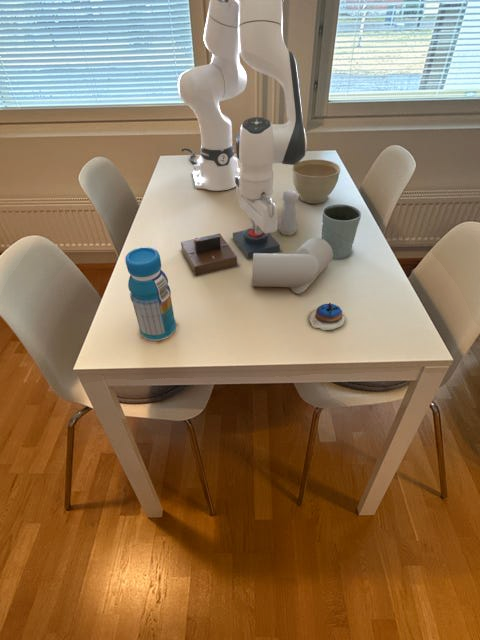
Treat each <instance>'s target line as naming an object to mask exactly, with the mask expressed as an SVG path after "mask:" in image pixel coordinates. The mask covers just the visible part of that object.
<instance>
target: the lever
mask: <svg viewBox="0 0 480 640" xmlns="http://www.w3.org/2000/svg"><path fill="white" fill-rule="evenodd" d="M218 234H219V233H214V234H210V235H206V237H205V236H201V237H195V238H193V239H194V245H195V251H196V252H197V253H199V252H204V251H208V250H213V249H217V248H221V245H220V236H219V235H218Z"/></svg>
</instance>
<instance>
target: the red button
mask: <svg viewBox="0 0 480 640" xmlns="http://www.w3.org/2000/svg"><path fill="white" fill-rule="evenodd" d="M262 235H263V232H262V231H261V234H260V235H256V234H255V233H254V232H253V231H252V230H251V231H250V232H249V236H251V237H261V236H262Z"/></svg>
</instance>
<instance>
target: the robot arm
mask: <svg viewBox="0 0 480 640" xmlns="http://www.w3.org/2000/svg"><path fill="white" fill-rule="evenodd" d="M284 1H285V0H209V1H208V8H207V13H206V14H207V15H206V19H205V20H206V21H205V26H204V32H203V42H204V44H205V47H206V49H207V51H208V52H209V53H211V55H212V56H211V61H210V63H208V64H203V65H198V66H194V67H191V68H190V69H187V70H185V71H184V72H182V73H181V74H180V75H179V77H178V80H177V81H178V82H177V91H178V94H179V97H180V99H181V100H182V102H183V103H184V104H185V105H186V106H187V107H189V109H191V110H192V111H193V113H194V115H195V116H196V119H197V122H198V125H199V133H200V141H201V142H200V143H201V145H200V156H199V157H198V158H197V160H196V161H194V160H193V158H194V157H195V152H194V151H193V150H192V149H190V148H188V147H183V148H182V149H181V152H184V151H187V152H189V153H190V154H191V155H190V156H189V161H190V163H192V164H193V171H192V178H193V182H194V187H195V188H196V189H203V190H208V191H213V192H215V191H216V192H220V191H227V190H231V189H233V188H235V187H236V199H237V203H238V206H239V207H240V208H241V209H242V210H243V212H244V213H245V214H247V216H248V217H249V222H250V224H251V228H252V231H253V232H254V233H255V234H256V235H260V234H261V230H262V231H263V232H264V233H265V234H268V233H270V234H273V233H276V232H277V230H278V209H277V206H276V204H275V203H274V201H273V199H272V198H271V196H272V195H273V193H274V169H273V164H282V165H290V166H293V165H295V164H296V163H298V162H300V161H302V159H303V158H305V156H306V152H307V149H308V148H307V147H308V140H307V139H308V138H307V134H306V129H305V126H304V120H303V108H302V100H301V99H302V98H301V90H300V80H299V76H298V74H299V73H298V67H297V60H296V57H295V55H294V53H293V52H292V51H290V50H289V49H288V48H287V45H286V43H285V40H284V31H283V29H284V28H283V27H284V18H283V17H284V14H283V13H284V12H283V11H284V9H283V2H284ZM240 57H241V58H242V60H243V62H244V63H245V64H246V65H247V66H249V68H251V69H252V70H254V71H256V72H258V73H259V74H260V73H261V74H262V75H264V76H268V77H269V78H271V79H273V80H275V81H276V82H277V83H279V84H280V86H281V88H282V89H283V95H284V103H285V111H286V112H285V113H286V121H285V123H272V122H271V121H270V120H269V119H268V118H265V117H262V116H255V117H254V116H253V117H248V118H247V119H245V120H243V122H242V123H241V125H240V130H239V131H238V132H237V133H236V136H235V145H234V143H233V124H232V123H233V122H232V121H231V119H230V118H229V117H228V116H227V115H225V114H223V113H222V111H221V107H220V102H223V101H227V100H231V99H234V98H235V97H237V96H239V95H240V94H242V93H244V91H245V89H246V87H247V82H248V77H247V72H246V70H245V67H244V66H243V65H242V64H241V60H240ZM235 149H236V150H235ZM235 151H236V152H235ZM235 153H236V156H235ZM239 163H240V168H239Z"/></svg>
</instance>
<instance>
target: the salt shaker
mask: <svg viewBox="0 0 480 640" xmlns="http://www.w3.org/2000/svg"><path fill="white" fill-rule="evenodd" d="M281 198H282V200H283V205H282V209H281V213H280V217H279V220H278V229H279V232H280V234H282V235H283V236H292V235H294V234H295V233H296V231H297V229H298V225H299V224H298V216H297V209H296V201H297V200H298V192H297V191H296V190H292V189H291V190H290V189H288V190H285V191H283V193H282V197H281Z"/></svg>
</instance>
